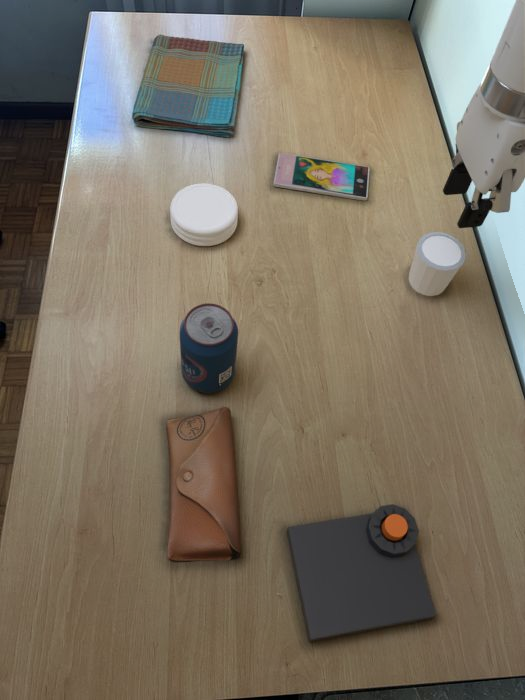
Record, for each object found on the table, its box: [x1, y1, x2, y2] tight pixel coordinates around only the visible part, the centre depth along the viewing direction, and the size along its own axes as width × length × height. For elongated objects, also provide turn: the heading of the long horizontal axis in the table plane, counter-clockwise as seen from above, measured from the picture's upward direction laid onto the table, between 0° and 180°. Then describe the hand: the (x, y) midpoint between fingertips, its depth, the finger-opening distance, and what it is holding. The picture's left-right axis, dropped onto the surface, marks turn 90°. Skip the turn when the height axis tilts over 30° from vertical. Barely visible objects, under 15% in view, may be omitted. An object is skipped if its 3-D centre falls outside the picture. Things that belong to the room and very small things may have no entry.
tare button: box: [382, 514, 408, 541], centre depth 74 cm, size 3×3×2 cm
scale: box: [286, 503, 437, 643], centre depth 74 cm, size 14×12×4 cm
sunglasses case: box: [165, 406, 242, 563], centre depth 78 cm, size 18×7×7 cm
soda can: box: [179, 302, 239, 394], centre depth 82 cm, size 7×7×12 cm
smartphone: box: [272, 152, 370, 202], centre depth 106 cm, size 7×1×15 cm
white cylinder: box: [408, 231, 467, 297], centre depth 95 cm, size 7×7×7 cm
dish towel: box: [131, 34, 245, 138], centre depth 115 cm, size 17×23×2 cm
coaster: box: [169, 182, 239, 247], centre depth 99 cm, size 10×10×4 cm
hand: (461, 207), depth 85 cm, fingers open, 4 cm apart
